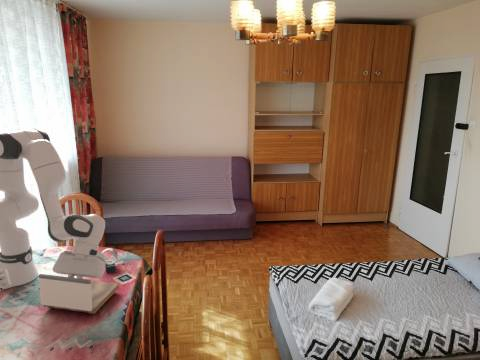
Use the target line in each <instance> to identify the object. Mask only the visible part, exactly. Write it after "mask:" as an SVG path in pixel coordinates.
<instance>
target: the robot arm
mask: <svg viewBox="0 0 480 360" xmlns="http://www.w3.org/2000/svg"><path fill="white" fill-rule="evenodd" d="M24 159H26V160H27V162H28V164H29V167H30V169H31V172H32V174H33V176H34V179H35V182H36V185H37V188H38V193H39V196H40V197H39V198H40V201H41V203H42V207H43V210H44V212H45V216H46V218H47V219H46V220H47V233H48V236H49V237H50V239H51V240H53V241H54V242H56V243H64V242H67V241H70V240H76V241H75V245H74V247H73V249H72V251H71V250H70V251H68V250H64V251H62V252H60V253H59V256H58V258H57V259H56V260H55V262H54V265H53V267H52V272H54V273H56V274H59V275H67V277H70V278H75V277H76V278H79V279H84V278H93V279H100V278H101V277H102V276H103V274H104V271H105V262H104V261H106V260H107V255H105V254H104V253H103V254H102V251H99V244H100V242H101V240H102V239H103V236H104V232H105V229H106V220H105V219H104V218H103V217H102V216H100V215H99V214H96V213H90V214H86V215H85V214H84V215H83V214H78V213H72V214H69V215H65V213H64V210H63V207H62V205H61V202H60V197H59V194H60V191H61V188H62V186H63V185H64V184H65V181H66V178H67V176H66V169H65V166H64V165H63V161H62V159H61V157H60V156H59V154H58V151H57V150H56V148H55V146H54V145H53V143H51V139H50V136H49V135H48V133H47V132H46V131H45V130H43V129H38V128H32V129H24V128H23V129H22V128H21V129H17V130H11V131H2V132H0V191H1V192H3V194H4V197H3V198H2V199H1V198H0V289H1V288H2V290H6V289H9V288H13V287H18V286H22V285H23V286H24V285H26V284H28V283H30V282H32V281H34V280H35V279H36V278H38V277H39V272H38V267H37V266H36V263H35V260H34V257H33V249H32V246H31V244H30V242H31V241H30V235H29V232H28V231H27V230H26V229H25V228H21V227H18V226H17V223H16V222H17V221H20V220H22V219H25V218H26V217H27V218H28V217H29V216H31V215H32V214H34V213H35V212H37V211H38V209H39V205H40V204H39V202H40V201H39V199H38V198H37V197H36V196H35V195H34V194H33V193H31V192H30V191H29V190H28V189H27V187H26V184H25V175H24V174H25V172H24V170H25V169H24Z"/></svg>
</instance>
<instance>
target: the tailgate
mask: <svg viewBox="0 0 480 360" xmlns="http://www.w3.org/2000/svg"><path fill="white" fill-rule="evenodd" d="M38 279H39V280H38V281H39V293H40V294H39V295H40V303H41V304H40V305H41V306H42V305H43V306H44V305H48V306H56V307H63V308H70V309H77V310H85V311H91V310H92V294H91V281H92V279H85V278H82V279H79V278H77V277H74V278H70V277H68V276H62V275H52V274H46V273H45V274H44V273H39V274H38Z"/></svg>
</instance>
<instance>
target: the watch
mask: <svg viewBox="0 0 480 360" xmlns="http://www.w3.org/2000/svg"><path fill="white" fill-rule="evenodd" d="M108 251H109V252H110V253H111V254H112V256H113V257H114V258H115V259H114V260H110V261H106V260H105V261H104V262H105V267H104V269H105V273H106V274H109V273H115V272H116V262H118V259H119V254H118V252H117V251H116V249H115V248H114V247H108V248H107V247H106V248H105V249H103V250H102V251H101V253H102V254H104V253H106V252H108Z"/></svg>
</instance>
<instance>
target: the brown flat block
mask: <svg viewBox="0 0 480 360" xmlns="http://www.w3.org/2000/svg"><path fill="white" fill-rule="evenodd" d="M119 288H120V286H119V283H115V282H108V281H107V282H105V281H97V280H91V294H92V310H91V311H85V310H77V309H70V308H63V307H56V306H48V305H43V307H44V308H48V309H52V310H54V309H58V310H59V309H60V310H68V311H74V312H82V313H87V314H89V315H96V314H97V313H98V311H99V310H100V309H101V307H103V305H104V304H105V303H106V302H107V301H108V300H109V299H110V298H111V297H112V296H114V295H115V293H116V291H118V289H119Z"/></svg>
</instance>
